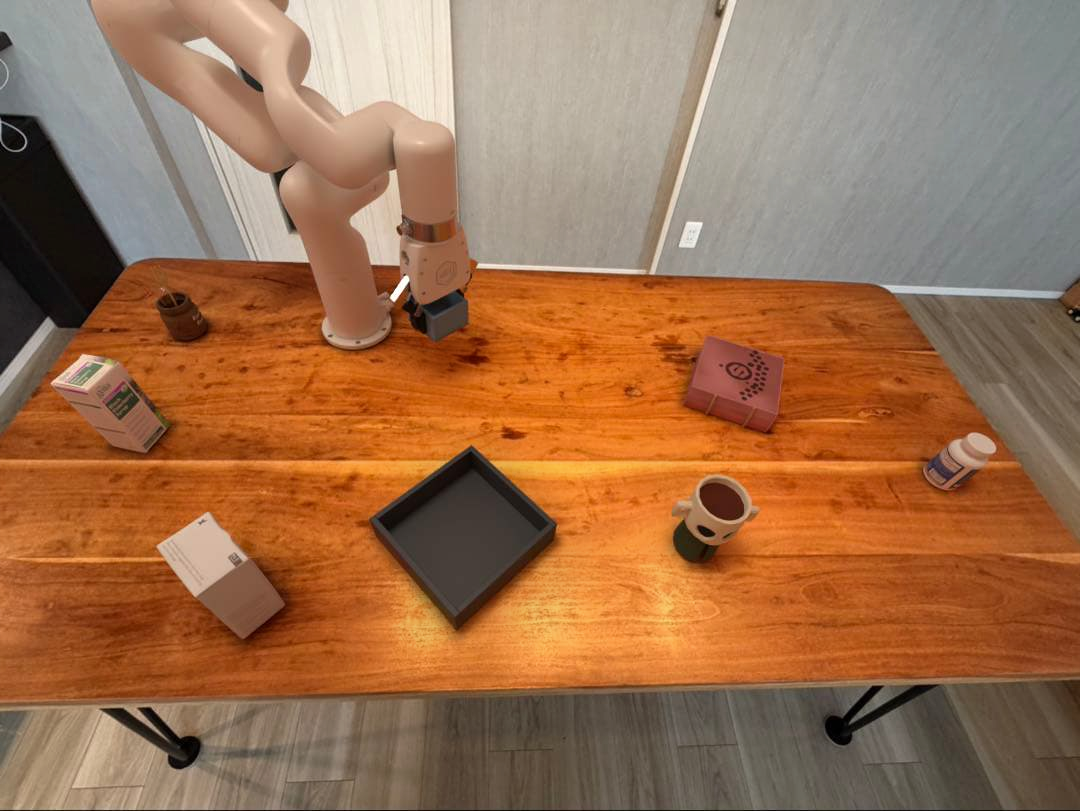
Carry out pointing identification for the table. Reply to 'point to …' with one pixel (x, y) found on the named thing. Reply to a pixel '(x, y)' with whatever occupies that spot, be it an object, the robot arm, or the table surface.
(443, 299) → the small bin
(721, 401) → the book
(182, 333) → the utensil holder
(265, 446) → the table surface
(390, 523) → the large bin
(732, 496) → the character mug
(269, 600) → the cosmetic box
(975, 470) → the pill bottle
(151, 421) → the syrup box
